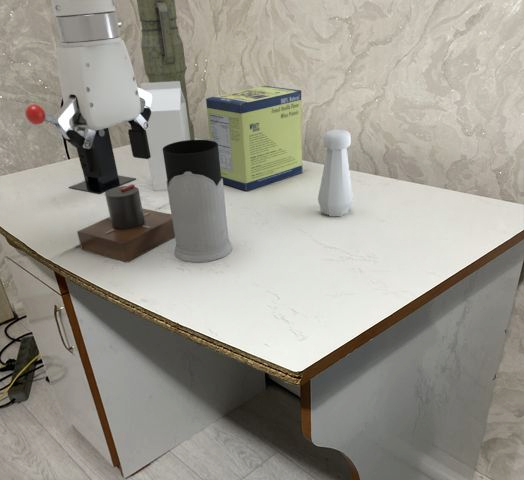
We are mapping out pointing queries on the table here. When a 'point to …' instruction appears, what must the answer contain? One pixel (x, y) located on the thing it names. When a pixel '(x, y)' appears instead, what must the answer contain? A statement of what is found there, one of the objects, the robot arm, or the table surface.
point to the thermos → (163, 46)
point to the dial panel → (127, 236)
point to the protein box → (257, 135)
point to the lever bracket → (103, 167)
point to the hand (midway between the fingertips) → (118, 166)
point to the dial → (125, 207)
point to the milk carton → (165, 125)
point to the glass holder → (197, 200)
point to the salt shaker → (336, 175)
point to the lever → (38, 115)
